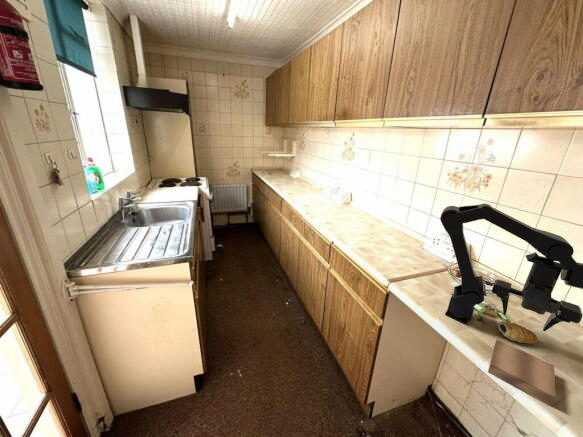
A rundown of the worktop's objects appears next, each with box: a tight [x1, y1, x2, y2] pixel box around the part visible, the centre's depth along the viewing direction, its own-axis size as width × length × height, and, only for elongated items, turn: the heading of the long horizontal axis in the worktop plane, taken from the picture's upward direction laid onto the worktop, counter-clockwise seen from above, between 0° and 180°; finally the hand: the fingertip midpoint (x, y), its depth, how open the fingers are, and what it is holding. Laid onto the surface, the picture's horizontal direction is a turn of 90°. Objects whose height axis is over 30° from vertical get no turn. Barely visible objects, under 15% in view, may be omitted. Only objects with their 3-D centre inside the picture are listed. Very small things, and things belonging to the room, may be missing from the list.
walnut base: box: [487, 338, 557, 407], centre depth 65 cm, size 12×12×3 cm
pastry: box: [497, 320, 539, 345], centre depth 77 cm, size 9×7×4 cm
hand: (523, 322), depth 75 cm, fingers open, 9 cm apart
